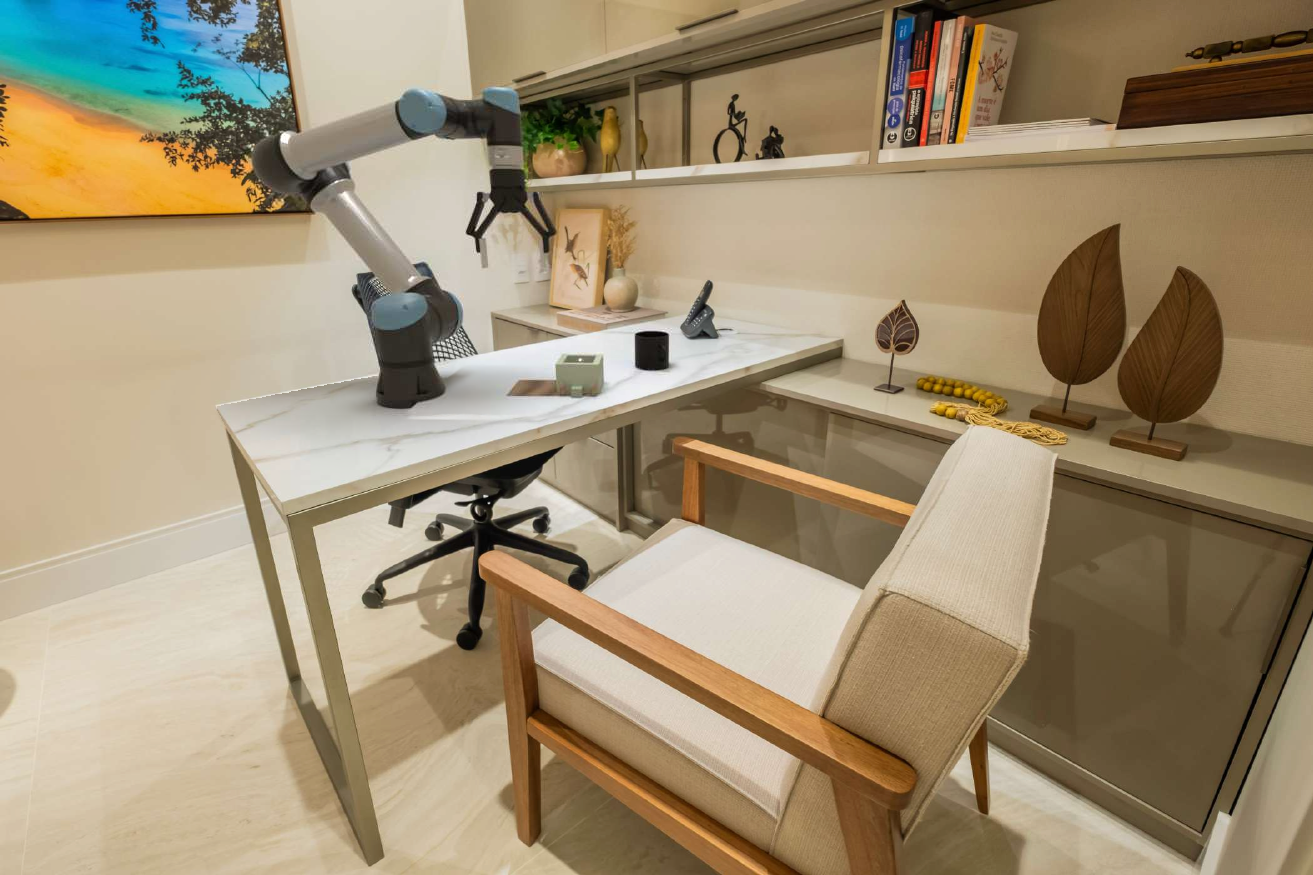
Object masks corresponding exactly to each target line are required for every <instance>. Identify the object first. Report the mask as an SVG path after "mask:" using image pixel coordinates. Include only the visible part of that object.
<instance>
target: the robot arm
mask: <svg viewBox="0 0 1313 875" xmlns="http://www.w3.org/2000/svg"><path fill="white" fill-rule="evenodd" d="M520 108H521V107H520V98H519V95H518V92H517V91H516V90H515V89H512V88H509V87H503V86H500V87H499V86H492V87H485V88H483V90H482V97H481V98H480V99H457V98H456V99H455V98H454V97H449V96H447V95H443V94H441V93H440V94H439V93H436V92H434V91H432V90H429V89H427V88H426V89H425V88H410V89H408V90H406V91H405V92H404V93H403V94H402V95H401V97H400V98H399V99H397V100H394V101H391V102H389V103H385V104H382V105H379V106H377V107H373V108H370V109H367V110H364V111H361V112H359V113H355V114H352V115H349V116H346V117H342V118H340V119H338V120H335V121H330V122H328V123H326V124H325V123H324V124H323V125H319V126H316V127H314V128H310V129H307V130H304V131H301V132H299V133H298V132H295V131H292V130H286V131H283V132H280V133H277V134H274V135H270V136H267V137H265V138H262V139H260V141H258V142H257V143H256V144H255V146H254V148H253V150H252V153H251V159H250V161H251V167H252V169H253V172H254V174H255V176H256V177H257V178H258V180H259V181H260V182H261V183H262V184H263V185H264V186H265V187H267V188H268V189H270V190H272V191H273V192H276V193H279V194H282V195H290V196H291V195H296V196H300V197H301V199H302V200H304V202H305V203H306V204H307V206H309V208H310V209H311V210H312V211H313V212H316V213H322V214H324V215H325V217H326V218H327V219H328V220H329V222H330V223H331V224H332V225H333V227H334V228H335V229H336V231H338V233H339V234H340V235H341V236H342V237H343V238H344V240H345V241H346V243H348V245H349V246H350V247H351V248H352V249H353V251H354V252H355V253H356V254H357V256H358V257H359V258H360V259H361V260H362V262H363V263H364V264H365V265H366V266H367V268H368V269H369V270H370V272H372V274H373V275H374V277H376V278H377V280H378V281H379V283H380V284H381V285H382V286H383V287H384V289H386V291H387V293H389V294H388V295H384V296H382V297H379V298H377V299H375V300H374V302H373V303H372V304H371V307H370V308H371V310H370V311H371V323H372V325H373V331H374V332H373V333H374V337H375V338H374V339H375V343H376V344H375V345H376V349H377V355H378V362H379V367H380V368H379V374H378V380H377V386H376V389H375V390H376V391H375V392H376V393H375V395H376V401H377V404H379V405H380V406H383V407H387V408H398V409H399V408H400V409H402V408H405V409H406V408H413V407H414V406H416V405H417V404H418V403H423V402H427V401H430V400H434V399H437V398H439V397H442V396H443V395H444V394H445V393H446V386H445V383H444V381H443V379H442V377H441V375H440V373H439V371H438V369H437V366H436V365H435V360H434V354H433V353H434V352H433V351H434V350H433V346H432V345H434V344H437V343H439V342H441V341H445V340H448V339H450V338H451V337H452V336H454V335H455V334H457V332H458V331H459V330H460V329H461V327H462V324H463V321H464V319H463V318H464V310H463V307H462V304H461V302H460V300H459V299H458V298H457V296H456V295H455V294H454V293H452V292H451V291H447V290H444V289H441V288H440V287H439V286H438V285H437V283H436V282H435V281H434V280H433V278H431V277H430V276H425V275H424V276H423V275H421V273H420V272H419V270H418V269H416V267H415V266H414V264H413V263H411V261H410V260H409V259H408V258H407V256H406V255H405V254H404V253H403V251H402V250H401V249H400V247H399V245H397V244H396V243H395V241H394V240H393V239H392V237H391V236H390V235H389V234H388V232H387V231H386V230H385V229H384V228H383V227H382V225H381V224H380V223H379V221H378V220H377V218H375V217H374V215H373V214H372V213H371V211H370V210H369V209H368V207H367V206H365V204H364V203H363V202H362V200H361V199H360V197H359V196H357V194H356V193H355V187H356V184H355V181H354V180H353V179H352V174H351V173H350V171H351V168H350V164H349V163H348V162H350V161H355V160H357V159H360V158H363V157H364V158H365V157H367V156H369V155H373V154H375V153H380V152H382V151H384V150H389V149H392V148H394V147H398V146H401V145H404V144H407V143H409V142H410V143H411V142H413V141H417V140H421V139H423V138H428V137H429V136H435V137H436V138H438V139H441V140H451V141H454V140H469V139H471V140H472V139H482V140H483V139H485V140H486V146H487V147H486V148H487V150H486V151H487V159H488V160H487V161H488V165H489V166H490V167H491V169H490V170H489V184H490V192H485V191H477V193H476V203H475V206H474V209H473V212H472V214H471V217H470V219H469V222H468V224H467V227H466V230H465V235H466V236H471V237H473V238H474V244H475V251H476V253H477V254H480V263H481V269H487V268H489V261H488V260H489V259H488V249H487V247H488V246H487V238H486V237H484V236H483V235H485V233H486V232H487V230H488V229H489V227H490V226H491V224H492V223H493V221H494V220H495V219H496V217H497V216H498V215H499V214H500V213H501V214H509V213H511V214H518V213H520V214H521V215H522V216H524V218H525V219H526V220H527V221H528V222H529V223H530V225H531V226H532V227H533V228H534V229H535V230H536V231H537V233H538V234H539V235H540V236H541V237H540V238H538V244H539V246H538V247H539V259H540V260H539V261H540V269H542V270H543V269H545V268H547V259H546V258H547V256H546V255H547V254H550V250H551V249H550V238H551V237H553V236H556V235H557V233H558V232H557V229H556V227H555V225H554V223H553V222H552V219H551V218H550V216H549V214H548V212H547V210H546V208H545V206H544V205H543V202H542V198H541V193H540V192H539V191H533V192H527V190H526V179H525V178H526V177H525V176H526V175H525V170H524V169H522V168H523V167H524V166H525V164H524V163H525V162H524V150H523V149H524V147H523V138H522V137H523V135H522V117H521V116H522V113H521V109H520ZM488 200H490V201H491V203H492V204H493V206H492V207H491V208H490V210H489V213H488V214H487V215H486V216H485V218H484V219H483V221H482V222H481V224H480V225H479V226H478V223H479V221H480V218H481V215H482V213H483V210H484V207H485V204H486V203H488ZM528 200H530V202H531V203H532V204H534V206H535V209H536V210H537V212H538V215H540V217H541V219H542V221H543V224H544V225H545V227H544V226H543V225H542V224H541V223H540V221H538V219H537V218H536V217H535V215H533V213H532V212H531V211H530V210H529V208H528V207H527V206H526V203H527V201H528ZM477 227H478V228H477ZM476 228H477V230H476ZM545 228H546V229H547V230H546V229H545Z"/></svg>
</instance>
